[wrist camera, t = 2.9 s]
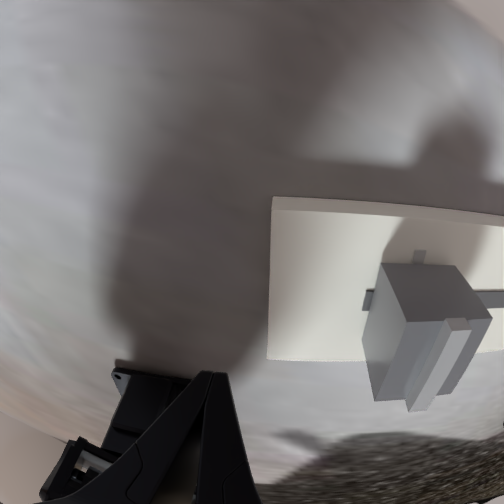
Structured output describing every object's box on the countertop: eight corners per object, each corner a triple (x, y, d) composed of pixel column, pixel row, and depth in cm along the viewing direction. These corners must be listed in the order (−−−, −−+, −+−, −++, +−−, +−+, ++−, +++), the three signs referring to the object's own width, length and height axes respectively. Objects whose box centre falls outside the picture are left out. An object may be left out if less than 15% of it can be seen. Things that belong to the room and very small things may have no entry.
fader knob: (427, 339, 13) (454, 406, 10) (360, 341, 13) (375, 415, 10) (455, 263, 11) (501, 327, 8) (380, 260, 11) (413, 332, 8)
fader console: (529, 329, 15) (539, 344, 13) (268, 338, 16) (266, 360, 15) (570, 227, 11) (586, 239, 10) (272, 196, 13) (271, 210, 11)
